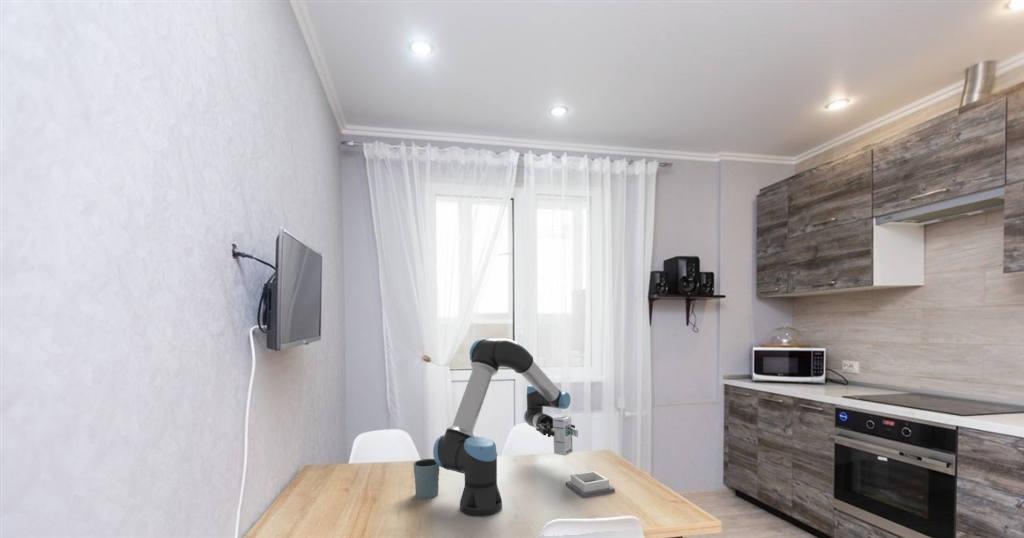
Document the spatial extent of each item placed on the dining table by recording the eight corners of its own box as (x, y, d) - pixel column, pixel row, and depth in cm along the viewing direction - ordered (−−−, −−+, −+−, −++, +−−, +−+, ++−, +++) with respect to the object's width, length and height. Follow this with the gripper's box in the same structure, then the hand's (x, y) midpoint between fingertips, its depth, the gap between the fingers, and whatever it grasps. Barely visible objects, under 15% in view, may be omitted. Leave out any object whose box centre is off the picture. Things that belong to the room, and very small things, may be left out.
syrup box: (566, 455, 182) (564, 419, 183) (553, 453, 185) (552, 417, 187) (572, 452, 186) (571, 416, 188) (560, 450, 190) (559, 415, 192)
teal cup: (434, 500, 168) (434, 467, 169) (408, 498, 170) (409, 466, 171) (443, 490, 177) (443, 458, 179) (419, 488, 179) (419, 457, 181)
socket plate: (583, 497, 168) (582, 485, 169) (565, 484, 181) (565, 474, 182) (614, 491, 173) (614, 480, 173) (595, 479, 186) (595, 469, 186)
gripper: (564, 428, 207) (590, 441, 186) (523, 433, 199) (545, 447, 178) (563, 412, 208) (589, 422, 187) (522, 416, 200) (545, 427, 179)
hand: (568, 434), depth 182 cm, fingers closed on syrup box, 8 cm apart
